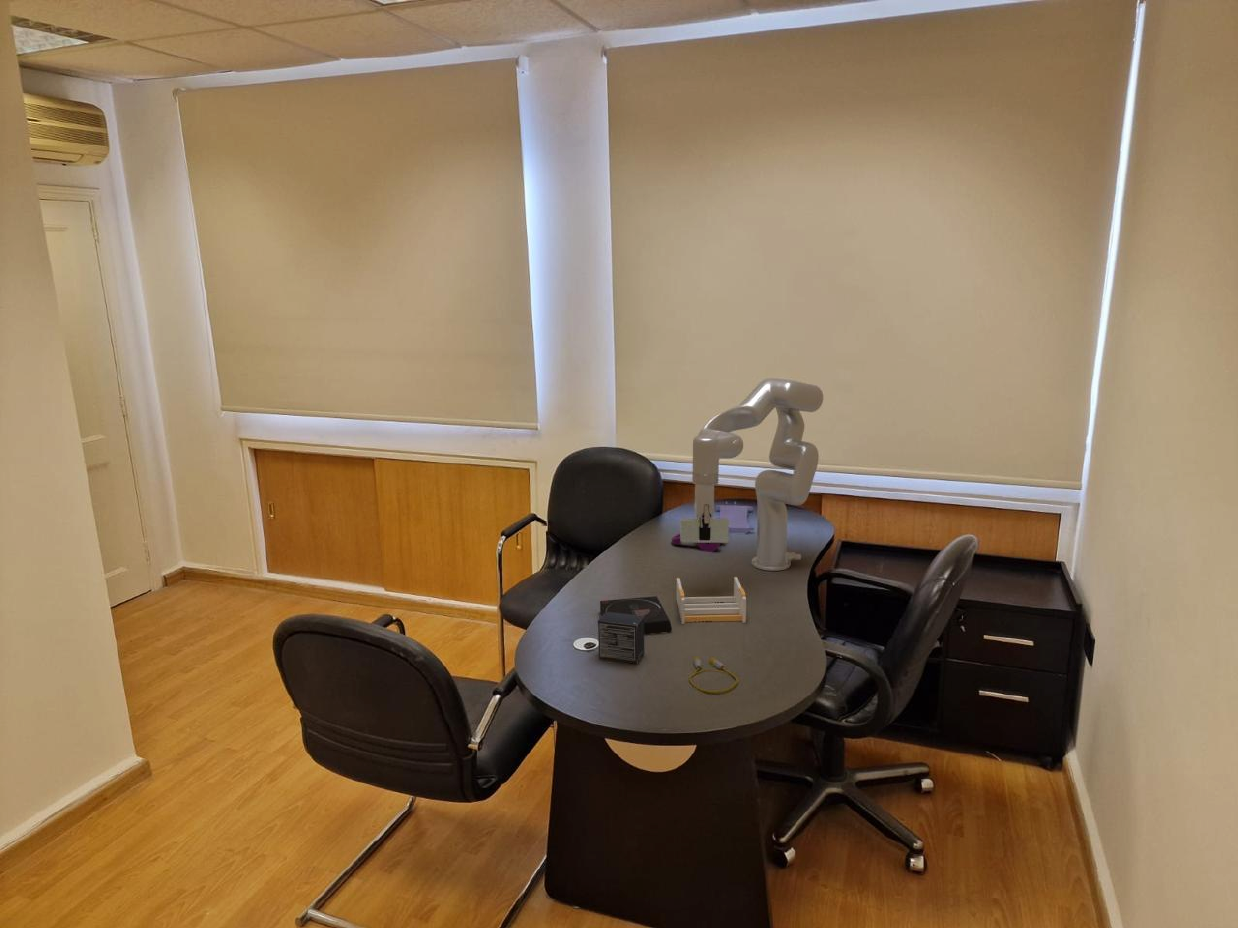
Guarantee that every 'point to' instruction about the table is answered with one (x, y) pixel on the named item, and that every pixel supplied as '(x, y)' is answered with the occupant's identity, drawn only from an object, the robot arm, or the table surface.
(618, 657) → the small box
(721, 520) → the panel
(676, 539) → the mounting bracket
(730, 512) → the computer part
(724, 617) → the rack
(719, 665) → the extension cord
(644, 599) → the portable cd player
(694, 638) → the table surface
